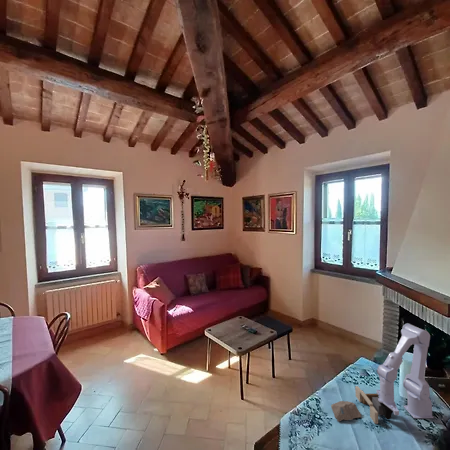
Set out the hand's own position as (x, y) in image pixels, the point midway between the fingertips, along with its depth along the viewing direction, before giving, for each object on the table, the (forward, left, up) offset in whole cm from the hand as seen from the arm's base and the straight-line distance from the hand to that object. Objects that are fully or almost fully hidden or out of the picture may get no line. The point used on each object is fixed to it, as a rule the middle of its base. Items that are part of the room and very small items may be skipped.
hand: (387, 418), depth 121 cm
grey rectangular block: (0, -6, -1) cm, 6 cm away
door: (+2, -11, -1) cm, 11 cm away
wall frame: (+7, -7, -1) cm, 10 cm away
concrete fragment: (+19, -3, -1) cm, 19 cm away
